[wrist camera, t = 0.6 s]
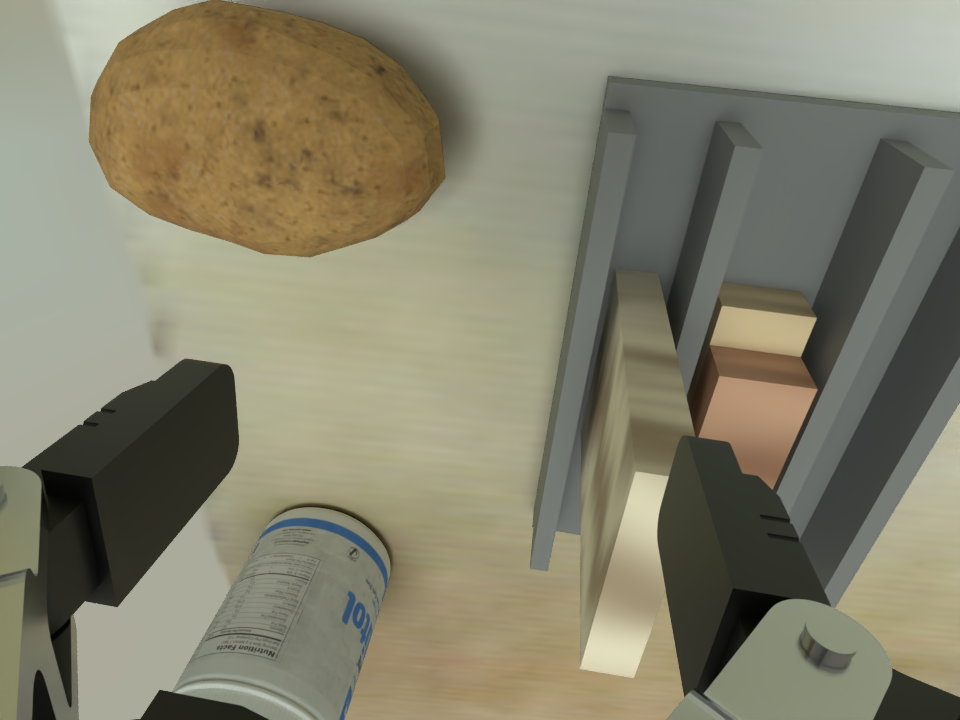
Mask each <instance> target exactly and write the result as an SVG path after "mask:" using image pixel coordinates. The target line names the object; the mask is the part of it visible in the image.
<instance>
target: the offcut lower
mask: <svg viewBox="0 0 960 720" xmlns="http://www.w3.org/2000/svg"><path fill="white" fill-rule="evenodd" d="M816 319H817V317H816V316H815V314H814V312H813V311H812V309H811V308H810V306H809V304H808V303H807V301H806V300H805V298H804V296H803V295H802V293H801V292H798V291H790V290H782V289H775V288H767V287H759V286H751V285H743V284H735V283H727V282H722V285H721V288H720V291H719V294H718V297H717V301H716V304H715V307H714V310H713V313H712V317H711V320H710V323H709V326H708V329H707V333H706V336H705V339H704V342H703V345H702V348H701V352H700V355H699V358H698V361H697V364H696V368H695V371H694V374H693V377H692V380H691V384H690V387H689V390H688V393H687V396H686V398H687V402H688V406H689V408H690V405H691V402H692V398H693V395H694V392H695V389H696V386H697V383H698V380H699V377H700V373H701V370H702V367H703V364H704V361H705V358H706V355H707V352H708V349H709V345H714V346H722V347H729V348H737V349H744V350H752V351H759V352H767V353H774V354H782V355H789V356H797V357H801V355H802V353H803V350H804V348H805V346H806V343H807V341H808V338H809V336H810V334H811V331H812V329H813V326H814V324H815V322H816Z"/></svg>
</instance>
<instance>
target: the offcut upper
mask: <svg viewBox="0 0 960 720" xmlns="http://www.w3.org/2000/svg"><path fill="white" fill-rule="evenodd" d="M817 390H818V389H817V387H816V385H815V383H814V381H813V379H812V377H811V376H810V374H809V372H808V370H807V368H806V366H805V364H804V362H803V360H802V358H801V357H797V356H789V355H782V354H774V353H767V352H759V351H752V350H744V349H737V348H729V347H722V346H714V345H709V349H708V352H707V355H706V358H705V361H704V364H703V367H702V370H701V373H700V377H699V380H698V383H697V386H696V389H695V392H694V395H693V398H692V402H691V405H690V408H689V411H690V415H691V420H692V424H693V428H694V433H695V437H700V438H706V439H713V440H720V441H726V442H729V443H730V445H731V447H732V449H733V451H734V454H735V456H736V459H737V461H738V464H739V466H740V469H741V471H742V473H744V474H750V475H756V476H759V477H760V478H761V479H762V480H763V481H764V482H765V483H766V484H767V485H768V486H769V487H770V488H771V489H772V490H773V488H774V486H775V483H776V481H777V479H778V477H779V474H780V472H781V470H782V468H783V466H784V463H785V461H786V459H787V457H788V454H789V452H790V450H791V448H792V445H793V443H794V441H795V439H796V437H797V434H798V432H799V430H800V428H801V425H802V423H803V421H804V419H805V417H806V414H807V412H808V410H809V408H810V405H811V403H812V401H813V399H814V397H815V394H816V392H817Z"/></svg>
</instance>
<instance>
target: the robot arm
mask: <svg viewBox="0 0 960 720" xmlns="http://www.w3.org/2000/svg"><path fill="white" fill-rule="evenodd" d="M238 446H239V433H238V420H237V407H236V393H235V380H234V374H233V371H232V369H231V367H230V366H228V365H226V364H219V363H213V362H206V361H199V360H193V359H184V360H182V361H180V362H179V363H178V364H176V365H175V366H174V367H172V368H171V369H170V370H169V371H167V372H166V373H165V374H163V375H162V376H161V377H160V378H158V379H157V380H156V381H150V382H147V383H145V384H142V385H140V386H137V387H135V388H132V389H130V390H127V391H125V392H122V393H121V394H120V395H118V396H117V397H116V398H114V399H113V400H112V401H110V402H109V403H108V404H106V405H105V406H104V407H102V408H101V412H98V411H97V412H95V413H94V414H93V415H91V416H90V417H89V418H87V419H86V420H85V421H84V424H83V425H78V426H77V427H75V428H74V429H73V430H71V431H70V432H69V433H67V434H66V435H65V436H63V437H62V438H61V439H59V440H58V441H57V442H55V443H54V444H52V445H51V446H50V447H48V448H47V449H46V450H44V451H43V452H42V453H40V454H39V455H38V456H36V457H35V458H33V459H32V460H31V461H29V462H28V463H27V464H26V465H24V466H23V467H21V468H20V467H12V466H11V467H10V466H0V720H79V718H78V717H79V716H78V675H77V674H78V673H77V633H76V624H75V620H74V615H73V614H74V613H75V611H76V610H77V609H78V608H79V607H80V606H81V605H82V604H83V603H84V601H87V602H93V603H98V604H103V605H109V606H114V607H118V606H119V604H120V603H121V602H122V601H123V600H124V598H125V597H126V596H127V595H128V594H129V592H130V591H131V590H132V589H133V588H134V586H135V585H136V584H137V583H138V582H139V580H140V579H141V578H142V577H143V576H144V574H145V573H146V572H147V571H148V569H149V568H150V567H151V566H152V565H153V564H154V562H155V561H156V560H157V559H158V557H159V556H160V555H161V554H162V553H163V551H164V550H165V549H166V548H167V546H168V545H169V544H170V543H171V542H172V541H173V539H174V538H175V537H176V536H177V535H178V533H179V532H180V531H181V530H182V528H183V527H184V526H185V525H186V524H187V522H188V521H189V520H190V519H191V518H192V517H193V515H194V514H195V513H196V512H197V510H198V509H199V508H200V507H201V506H202V504H203V503H204V502H205V501H206V500H207V498H208V497H209V496H210V495H211V494H212V492H213V491H214V490H215V489H216V488H217V486H218V485H219V484H220V483H221V482H222V480H223V479H224V478H225V477H226V476H227V474H228V473H229V472H230V470H231V468H232V467H233V464H234V462H235V459H236V456H237V452H238ZM657 542H658V549H659V555H660V560H661V566H662V572H663V578H664V583H665V589H666V595H667V600H668V606H669V612H670V618H671V623H672V629H673V635H674V640H675V646H676V652H677V658H678V663H679V669H680V675H681V680H682V686H683V692H684V698H683V700H682V701H681V702H680V703H679V704H678V706H677V707H676V708H675V709H674V710H673V712H672V713H671V714H670V715H669V717H668V718H667V719H666V720H960V697H958V696H955V695H953V694H950V693H948V692H945V691H943V690H941V689H938V688H936V687H933V686H931V685H928V684H926V683H923V682H921V681H919V680H916V679H914V678H911V677H909V676H907V675H905V674H902V673H900V672H898V671H896V670H895V669H893V668H892V666H891V662H890V659H889V657H888V655H887V653H886V651H885V650H884V648H883V647H882V645H881V644H880V643H879V641H878V640H877V639H876V638H875V637H874V636H873V635H872V634H871V633H870V632H869V631H868V630H867V629H866V628H865V627H864V626H862V625H861V624H860V623H858V622H857V621H856V620H854V619H853V618H851V617H850V616H848V615H846V614H845V613H843V612H841V611H839V610H837V609H835V608H833V607H832V606H831V604H830V602H829V600H828V598H827V596H826V594H825V591H824V589H823V587H822V585H821V583H820V581H819V579H818V577H817V575H816V572H815V570H814V568H813V566H812V564H811V562H810V560H809V558H808V555H807V553H806V551H805V549H804V547H803V545H802V543H799V536H798V534H797V532H796V530H795V528H794V526H793V524H790V517H789V515H788V513H787V511H786V509H785V507H784V505H783V503H782V500H781V498H780V497H779V496H778V495H777V494H776V493H775V492H774V491H773V490H772V489H771V488H770V487H769V486H768V485H767V484H766V483H765V482H764V481H763V480H762V479H761V478H760V477H759V476H756V475H750V474H744V473H742V471H741V469H740V466H739V464H738V461H737V459H736V456H735V454H734V451H733V449H732V447H731V445H730V443H729V442H726V441H720V440H713V439H706V438H700V437H693V436H687V435H683V436H682V437H681V439H680V441H679V443H678V445H677V449H676V452H675V456H674V460H673V463H672V467H671V470H670V474H669V478H668V481H667V485H666V488H665V492H664V496H663V499H662V503H661V507H660V511H659V517H658V526H657ZM136 720H269V719H267V718H265V717H263V716H261V715H259V714H257V713H255V712H253V711H251V710H249V709H248V708H246V707H244V706H241V705H236V704H231V703H225V702H220V701H215V700H210V699H205V698H199V697H194V696H189V695H184V694H179V693H173V692H168V691H163V690H159V692H158V693H157V695H156V696H155V698H154V699H153V701H152V702H151V704H150V705H149V707H148V708H147V710H146V711H145V713H144V714H143V716H142V717H141V719H136Z"/></svg>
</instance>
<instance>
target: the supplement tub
mask: <svg viewBox="0 0 960 720" xmlns="http://www.w3.org/2000/svg"><path fill="white" fill-rule="evenodd" d="M390 571H391V566H390V559H389V556H388V553H387V551H386V549H385V547H384V545H383V544H382V542H381V541H380V540H379V538H378V537H377V536H376V535H375V534H374V533H373V532H372V531H371V530H370V529H369V528H368V527H366V526H365V525H364V524H362V523H361V522H360V521H358V520H356V519H355V518H353V517H350V516H348V515H346V514H344V513H341V512H338V511H334V510H330V509H325V508H316V507H305V508H297V509H293V510H290V511H287V512H285V513H282V514H280V515H279V516H277V517H276V518H274V519H273V520H272V521H271V522H270V523H269V524H268V525H267V527H266V528H265V530H264V532H263V533H262V535H261V537H260V538H259V540H258V542H257V543H256V545H255V547H254V549H253V550H252V552H251V554H250V556H249V557H248V559H247V561H246V563H245V565H244V566H243V568H242V570H241V572H240V573H239V575H238V577H237V579H236V580H235V582H234V584H233V586H232V587H231V589H230V591H229V592H228V594H227V596H226V598H225V600H224V601H223V603H222V605H221V607H220V608H219V610H218V612H217V614H216V615H215V617H214V619H213V621H212V623H211V624H210V626H209V628H208V629H207V631H206V633H205V635H204V637H203V638H202V640H201V642H200V643H199V645H198V647H197V649H196V651H195V652H194V654H193V656H192V657H191V659H190V661H189V663H188V664H187V666H186V668H185V670H184V672H183V673H182V675H181V677H180V679H179V681H178V682H177V684H176V686H175V688H174V690H173V691H172V692H173V693H179V694H184V695H189V696H194V697H199V698H205V699H210V700H215V701H220V702H225V703H231V704H236V705H241V706H244V707H246V708H248V709H249V710H251V711H253V712H255V713H257V714H259V715H261V716H263V717H265V718H267V719H269V720H345V717H346V714H347V710H348V707H349V704H350V701H351V698H352V695H353V692H354V689H355V686H356V682H357V679H358V676H359V673H360V670H361V667H362V664H363V660H364V657H365V654H366V651H367V648H368V645H369V642H370V639H371V636H372V632H373V629H374V626H375V623H376V620H377V616H378V613H379V610H380V607H381V604H382V601H383V597H384V594H385V591H386V588H387V584H388V581H389V578H390Z"/></svg>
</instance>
